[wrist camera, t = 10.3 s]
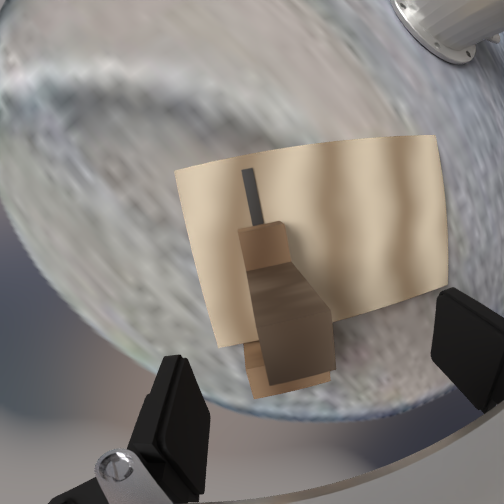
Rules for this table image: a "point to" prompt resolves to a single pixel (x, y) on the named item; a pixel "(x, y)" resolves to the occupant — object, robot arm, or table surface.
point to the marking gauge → (283, 317)
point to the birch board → (321, 224)
